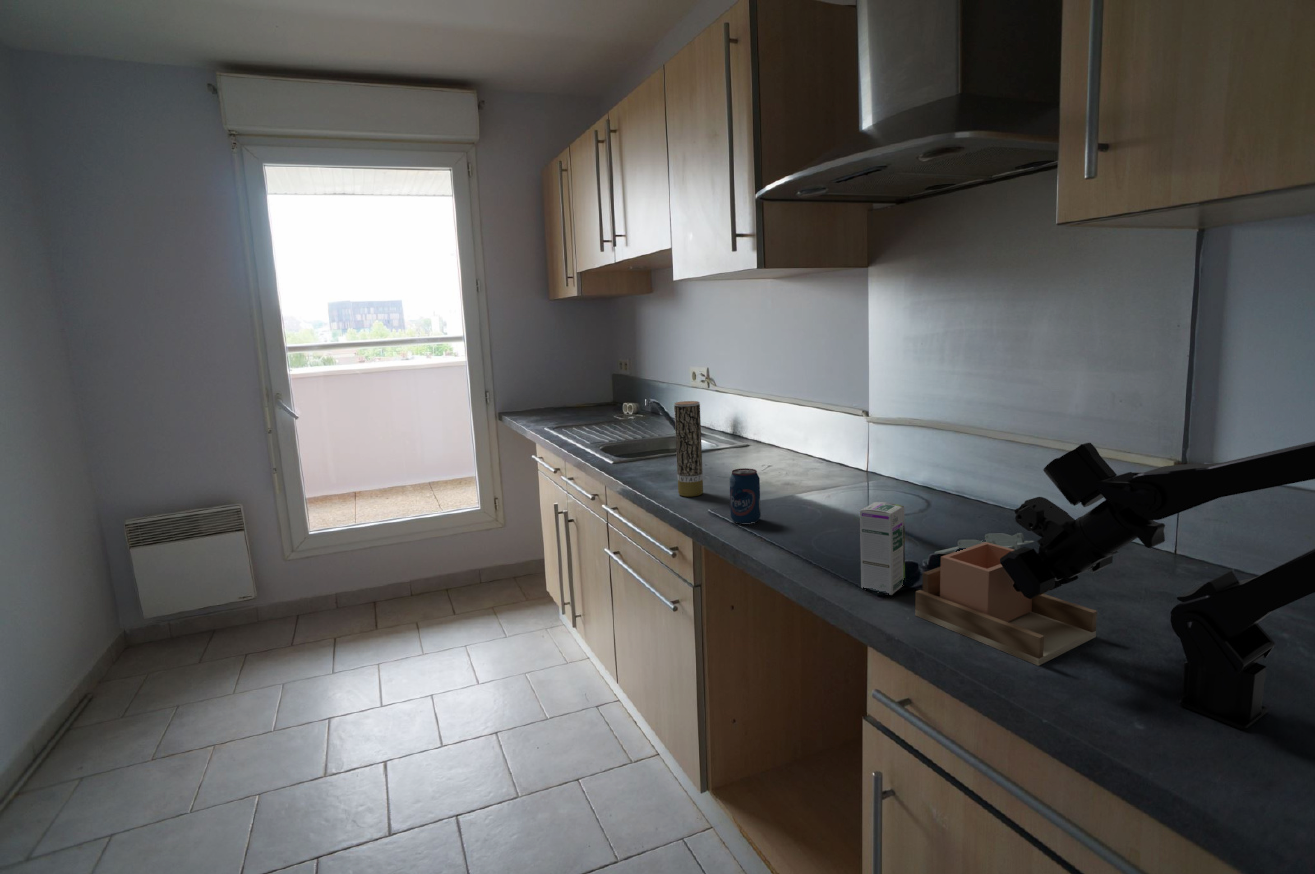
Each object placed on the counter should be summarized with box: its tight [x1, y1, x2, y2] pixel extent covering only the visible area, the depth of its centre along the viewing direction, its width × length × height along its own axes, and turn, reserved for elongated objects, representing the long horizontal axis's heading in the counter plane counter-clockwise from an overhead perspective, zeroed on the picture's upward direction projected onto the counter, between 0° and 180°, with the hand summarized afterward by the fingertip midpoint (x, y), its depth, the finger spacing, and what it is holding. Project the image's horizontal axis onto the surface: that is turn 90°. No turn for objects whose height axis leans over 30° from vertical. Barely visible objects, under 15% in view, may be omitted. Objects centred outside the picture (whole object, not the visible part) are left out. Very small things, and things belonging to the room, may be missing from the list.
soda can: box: [729, 468, 761, 523], centre depth 165 cm, size 7×7×12 cm
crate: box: [940, 542, 1032, 622], centre depth 108 cm, size 8×11×9 cm
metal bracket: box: [934, 532, 1035, 555], centre depth 136 cm, size 14×6×15 cm
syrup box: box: [859, 501, 906, 596], centre depth 122 cm, size 6×6×14 cm
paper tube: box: [673, 400, 704, 498], centre depth 190 cm, size 7×7×25 cm
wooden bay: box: [914, 566, 1098, 666], centre depth 106 cm, size 20×14×7 cm
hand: (1016, 588), depth 104 cm, fingers closed
